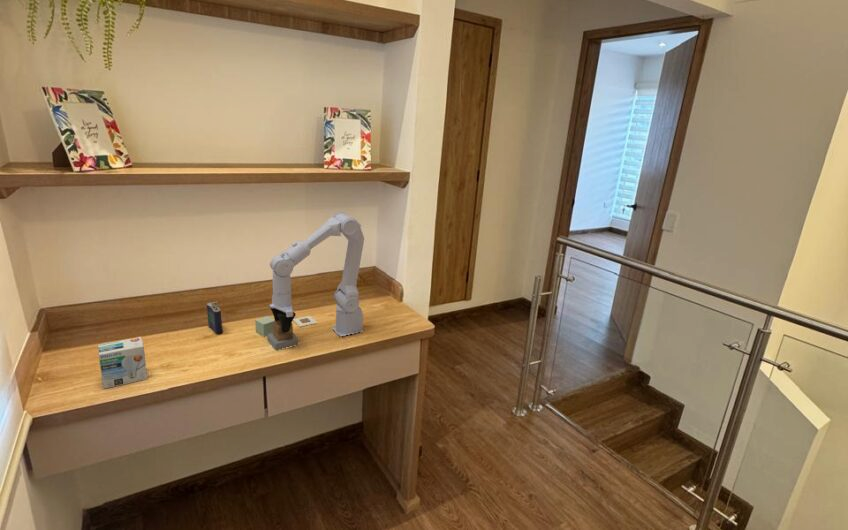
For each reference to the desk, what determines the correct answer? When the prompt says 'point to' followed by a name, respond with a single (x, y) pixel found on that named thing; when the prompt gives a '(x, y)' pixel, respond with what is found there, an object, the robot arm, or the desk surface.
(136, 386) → the desk surface
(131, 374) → the light bulb box
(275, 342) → the slate slab
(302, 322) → the placard
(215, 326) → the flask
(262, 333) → the sage block
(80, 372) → the desk surface
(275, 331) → the walnut block
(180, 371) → the desk surface
